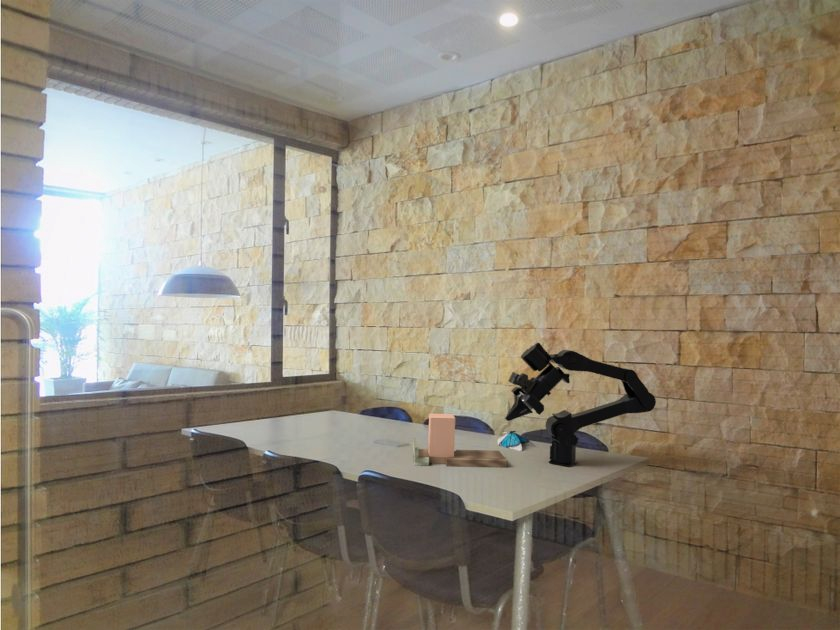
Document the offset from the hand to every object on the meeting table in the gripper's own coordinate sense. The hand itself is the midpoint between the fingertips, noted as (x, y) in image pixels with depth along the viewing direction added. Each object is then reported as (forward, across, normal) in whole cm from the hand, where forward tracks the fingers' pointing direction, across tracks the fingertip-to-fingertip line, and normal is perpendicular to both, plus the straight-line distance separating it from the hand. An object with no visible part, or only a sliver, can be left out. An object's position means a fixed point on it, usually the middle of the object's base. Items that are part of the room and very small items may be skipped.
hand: (506, 419), depth 169 cm
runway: (+18, 0, -1) cm, 18 cm away
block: (+21, 0, -6) cm, 22 cm away
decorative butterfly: (+4, -22, +14) cm, 26 cm away
